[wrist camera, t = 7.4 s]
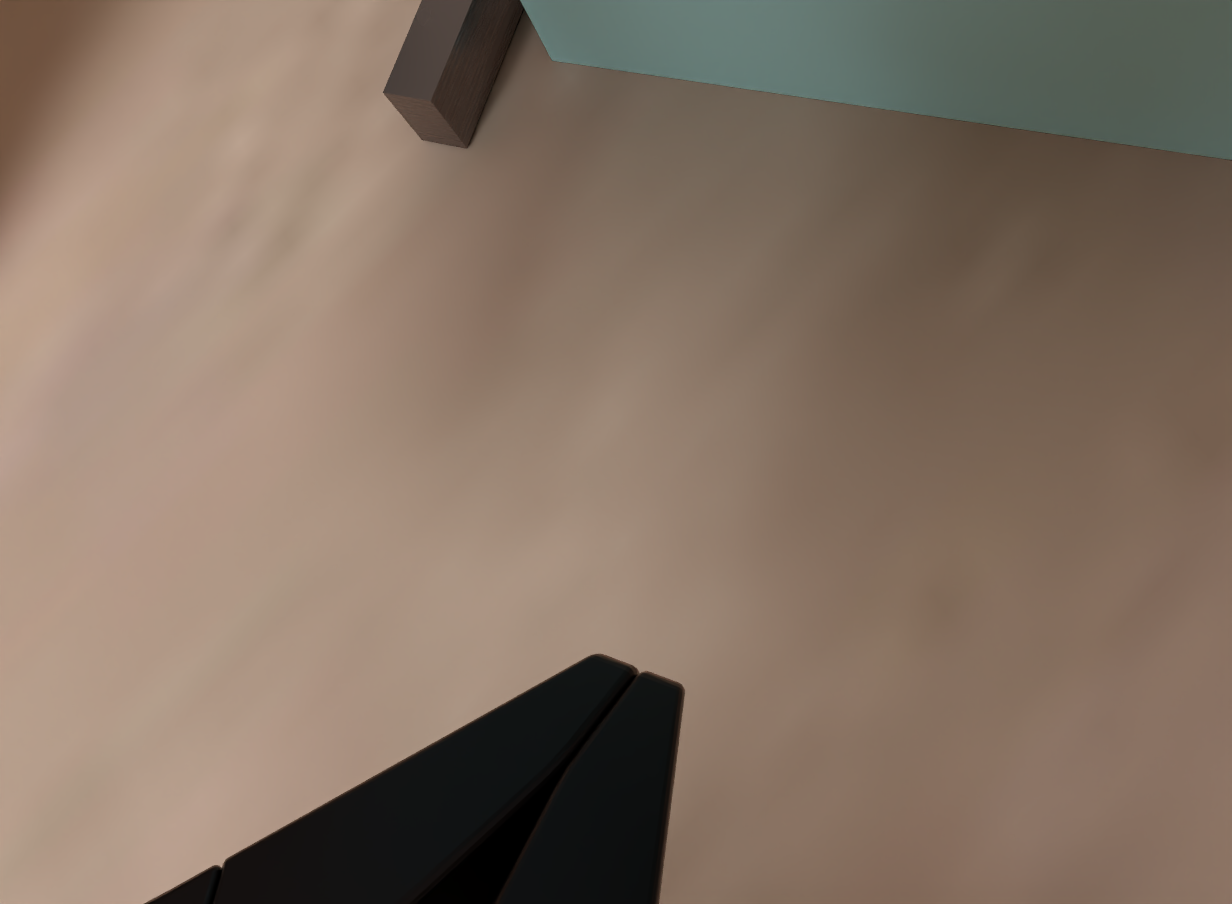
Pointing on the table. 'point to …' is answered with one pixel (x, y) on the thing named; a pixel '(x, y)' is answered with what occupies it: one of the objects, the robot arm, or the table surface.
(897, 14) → the t block
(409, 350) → the table surface
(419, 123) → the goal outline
